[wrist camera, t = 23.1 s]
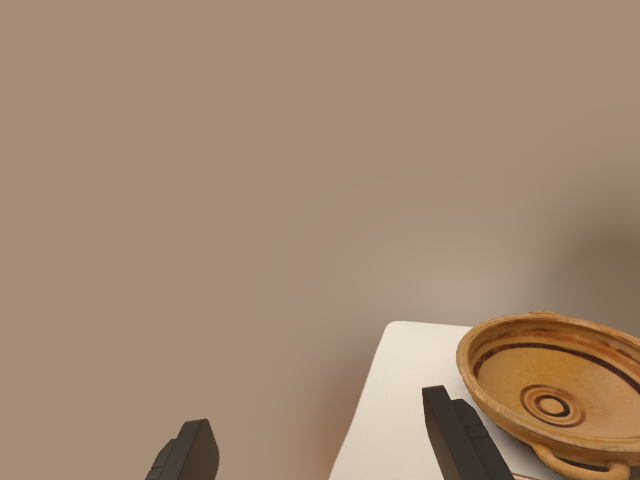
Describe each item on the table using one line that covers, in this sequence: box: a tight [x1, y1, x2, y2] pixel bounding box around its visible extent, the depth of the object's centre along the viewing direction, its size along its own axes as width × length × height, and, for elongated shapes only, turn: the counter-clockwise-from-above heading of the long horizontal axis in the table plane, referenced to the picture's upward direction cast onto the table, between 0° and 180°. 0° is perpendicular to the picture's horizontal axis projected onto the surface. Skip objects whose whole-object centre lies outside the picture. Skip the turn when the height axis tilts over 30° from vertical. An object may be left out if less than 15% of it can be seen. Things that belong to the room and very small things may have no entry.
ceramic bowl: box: [456, 311, 640, 480], centre depth 43 cm, size 30×24×8 cm
